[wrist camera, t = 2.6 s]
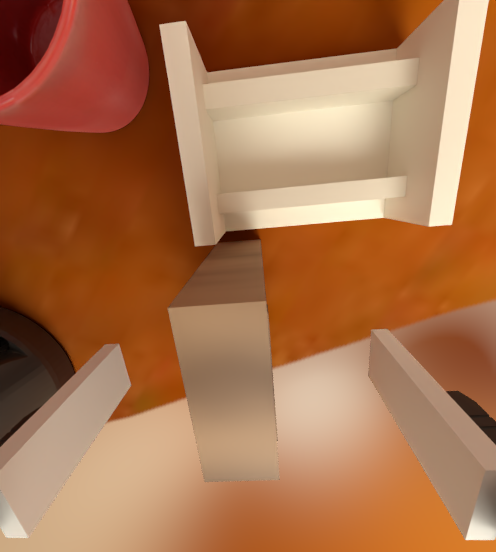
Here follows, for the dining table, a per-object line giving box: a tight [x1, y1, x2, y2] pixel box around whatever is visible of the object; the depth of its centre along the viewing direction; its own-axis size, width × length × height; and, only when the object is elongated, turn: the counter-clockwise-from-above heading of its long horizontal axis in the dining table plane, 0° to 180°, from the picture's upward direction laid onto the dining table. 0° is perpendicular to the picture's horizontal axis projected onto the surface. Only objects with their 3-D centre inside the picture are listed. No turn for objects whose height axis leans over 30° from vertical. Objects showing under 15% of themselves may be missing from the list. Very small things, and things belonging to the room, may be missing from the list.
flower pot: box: [0, 0, 149, 133], centre depth 12 cm, size 11×11×10 cm
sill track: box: [159, 0, 489, 246], centre depth 15 cm, size 14×10×6 cm
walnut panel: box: [168, 239, 280, 482], centre depth 16 cm, size 9×4×12 cm, turn 5°
